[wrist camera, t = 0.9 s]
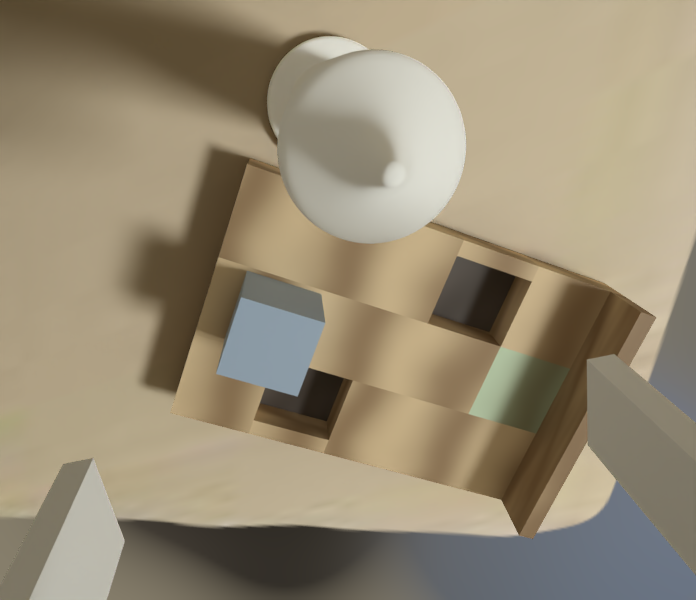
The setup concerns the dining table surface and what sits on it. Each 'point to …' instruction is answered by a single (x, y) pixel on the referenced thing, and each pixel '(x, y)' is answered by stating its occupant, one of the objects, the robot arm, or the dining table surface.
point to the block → (272, 334)
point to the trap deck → (417, 352)
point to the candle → (364, 139)
